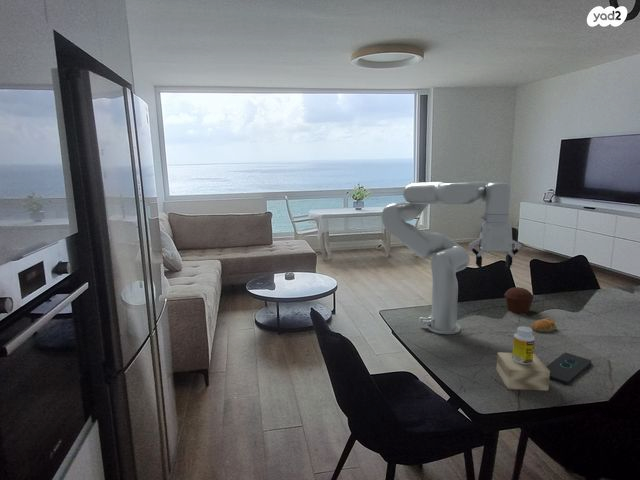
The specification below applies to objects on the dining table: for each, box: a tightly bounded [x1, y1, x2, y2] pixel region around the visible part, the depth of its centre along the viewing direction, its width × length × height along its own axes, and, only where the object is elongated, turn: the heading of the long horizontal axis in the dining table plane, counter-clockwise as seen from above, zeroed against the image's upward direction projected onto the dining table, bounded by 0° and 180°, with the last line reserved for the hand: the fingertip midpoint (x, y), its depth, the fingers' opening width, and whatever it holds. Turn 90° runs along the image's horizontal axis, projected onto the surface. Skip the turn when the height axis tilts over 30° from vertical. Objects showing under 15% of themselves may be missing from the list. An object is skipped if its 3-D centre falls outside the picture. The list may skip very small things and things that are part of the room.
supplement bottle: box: [512, 325, 536, 365], centre depth 120 cm, size 6×6×10 cm
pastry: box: [531, 318, 558, 333], centre depth 159 cm, size 9×7×4 cm
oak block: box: [495, 351, 550, 392], centre depth 122 cm, size 11×11×6 cm
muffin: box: [503, 286, 535, 315], centre depth 179 cm, size 12×11×10 cm
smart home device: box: [545, 352, 592, 386], centre depth 128 cm, size 8×2×20 cm
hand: (493, 267), depth 143 cm, fingers open, 9 cm apart
